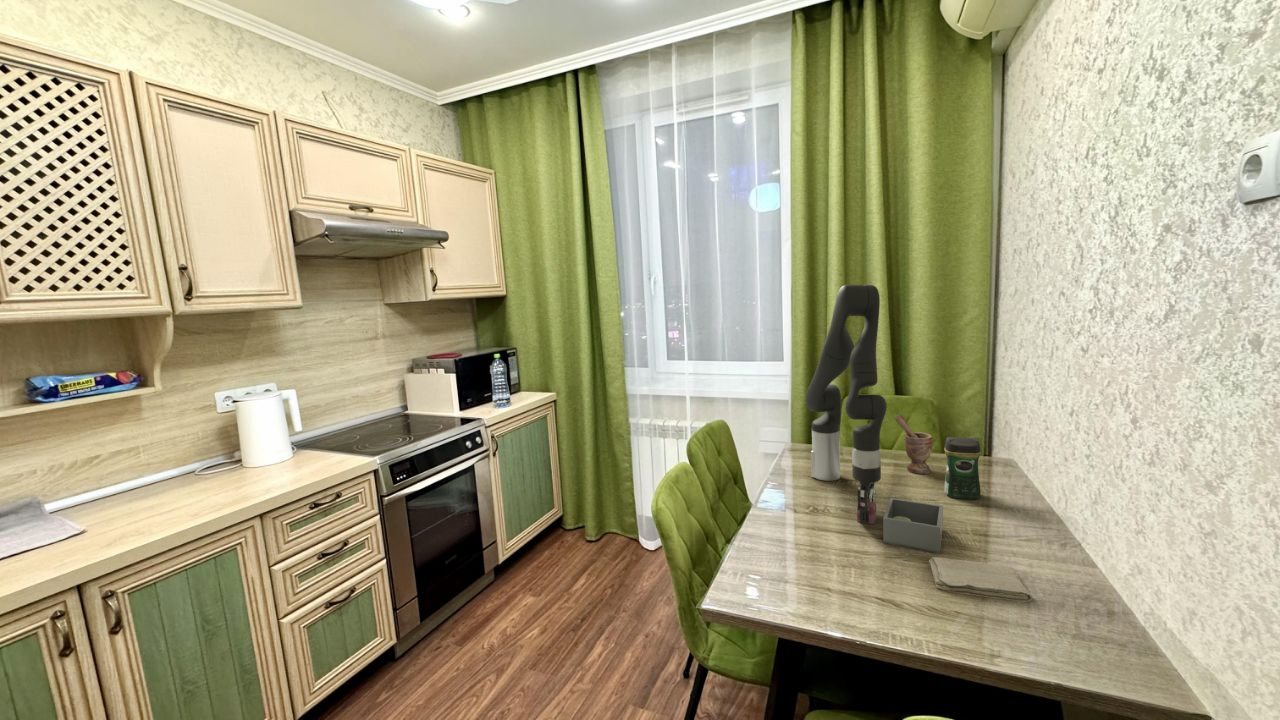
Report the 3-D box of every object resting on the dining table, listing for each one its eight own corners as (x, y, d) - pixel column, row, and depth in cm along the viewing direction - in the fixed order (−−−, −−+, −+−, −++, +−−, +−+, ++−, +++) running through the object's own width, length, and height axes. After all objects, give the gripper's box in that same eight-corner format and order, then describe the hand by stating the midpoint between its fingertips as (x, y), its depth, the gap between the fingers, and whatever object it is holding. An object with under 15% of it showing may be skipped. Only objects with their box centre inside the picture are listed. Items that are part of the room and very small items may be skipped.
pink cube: (857, 521, 148) (857, 505, 147) (860, 515, 151) (859, 499, 151) (873, 524, 145) (873, 508, 145) (876, 518, 149) (876, 502, 148)
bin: (883, 542, 135) (883, 518, 134) (890, 520, 147) (890, 497, 146) (940, 553, 128) (940, 527, 127) (942, 529, 140) (943, 505, 139)
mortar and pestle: (896, 473, 180) (896, 418, 177) (893, 465, 188) (893, 412, 185) (933, 475, 176) (934, 419, 173) (929, 466, 184) (929, 413, 181)
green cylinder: (891, 539, 136) (891, 521, 135) (893, 532, 139) (893, 515, 138) (910, 543, 133) (910, 525, 132) (911, 535, 137) (912, 518, 136)
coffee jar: (977, 491, 161) (979, 435, 159) (982, 501, 154) (983, 442, 152) (942, 488, 165) (943, 433, 163) (945, 498, 158) (946, 440, 156)
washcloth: (926, 564, 125) (927, 553, 124) (1014, 574, 118) (1014, 562, 118) (936, 593, 114) (936, 580, 113) (1033, 605, 107) (1033, 591, 107)
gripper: (857, 453, 154) (857, 504, 156) (847, 469, 142) (848, 523, 144) (884, 456, 150) (884, 508, 152) (876, 473, 138) (877, 529, 140)
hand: (866, 516), depth 148 cm, fingers open, 8 cm apart
